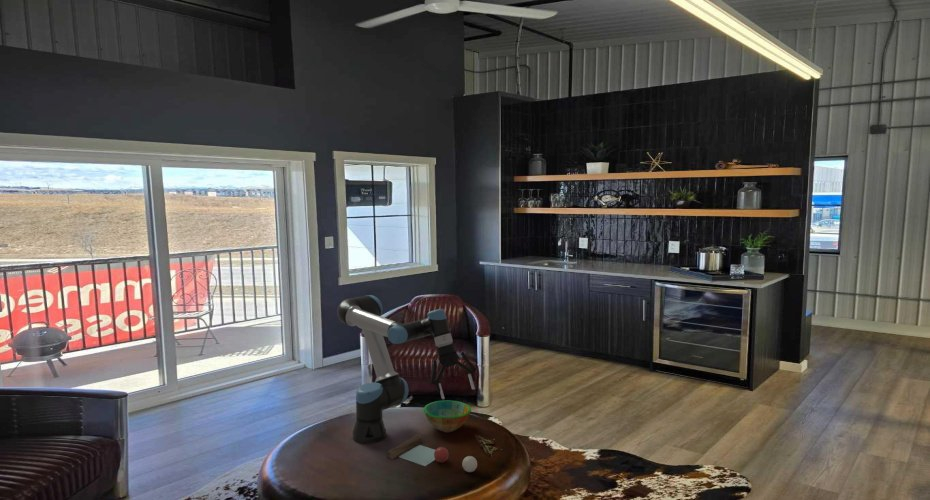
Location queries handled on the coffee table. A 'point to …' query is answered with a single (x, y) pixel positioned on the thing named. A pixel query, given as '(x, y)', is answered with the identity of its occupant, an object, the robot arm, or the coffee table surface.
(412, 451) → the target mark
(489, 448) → the butterfly
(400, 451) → the strip
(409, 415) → the coffee table surface
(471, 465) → the white ball
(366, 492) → the coffee table surface
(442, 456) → the red ball
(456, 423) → the bowl
